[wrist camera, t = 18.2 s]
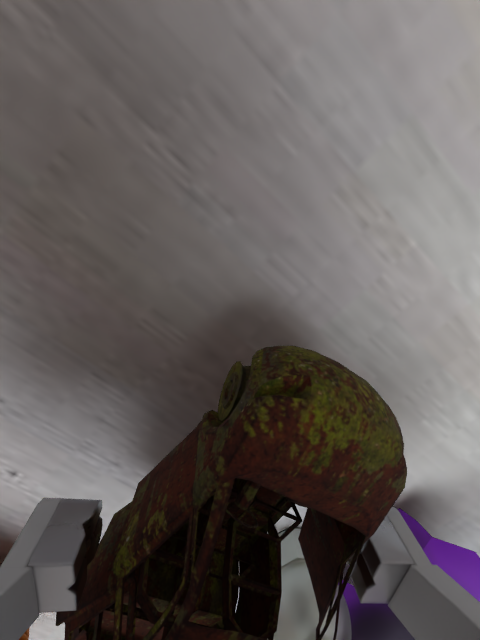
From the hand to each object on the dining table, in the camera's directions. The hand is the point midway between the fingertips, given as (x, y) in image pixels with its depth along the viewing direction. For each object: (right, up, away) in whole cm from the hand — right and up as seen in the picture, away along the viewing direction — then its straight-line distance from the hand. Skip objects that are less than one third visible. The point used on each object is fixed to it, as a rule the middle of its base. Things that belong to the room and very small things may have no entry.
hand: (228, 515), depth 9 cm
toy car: (0, 0, +2) cm, 2 cm away
